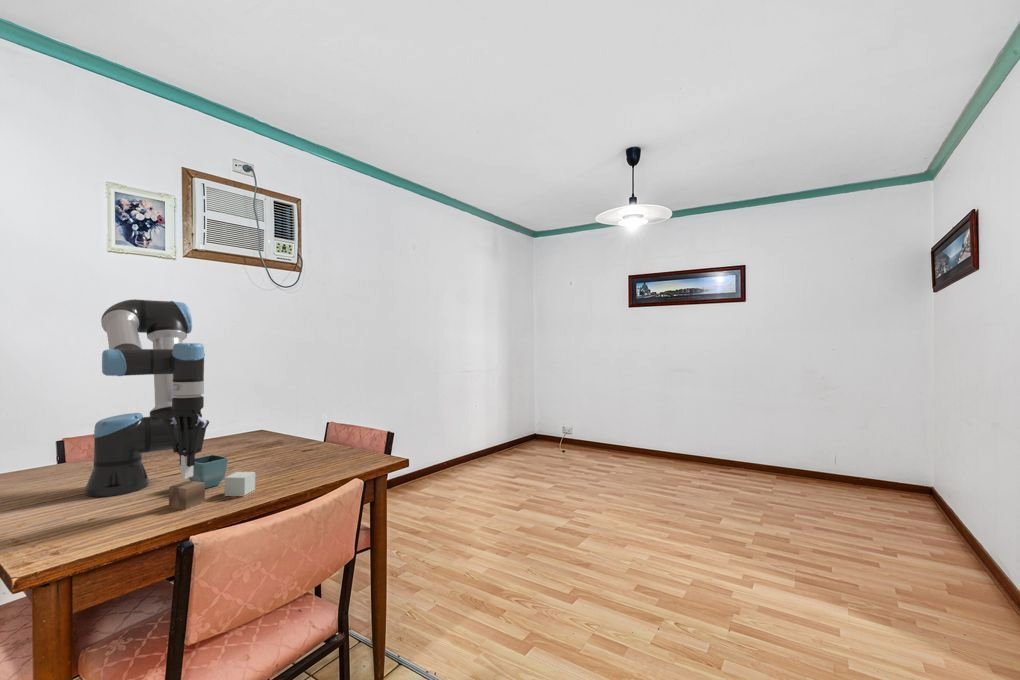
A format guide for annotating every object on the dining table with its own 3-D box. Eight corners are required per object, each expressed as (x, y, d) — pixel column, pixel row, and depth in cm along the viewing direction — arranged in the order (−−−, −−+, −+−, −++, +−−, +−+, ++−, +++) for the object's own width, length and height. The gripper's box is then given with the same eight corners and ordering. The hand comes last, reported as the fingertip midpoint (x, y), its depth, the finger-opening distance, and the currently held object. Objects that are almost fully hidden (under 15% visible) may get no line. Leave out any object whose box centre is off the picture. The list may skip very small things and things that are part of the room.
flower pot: (228, 484, 151) (229, 457, 151) (201, 492, 143) (201, 463, 143) (212, 480, 154) (212, 454, 154) (184, 488, 146) (184, 460, 146)
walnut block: (169, 486, 130) (186, 488, 128) (188, 480, 135) (205, 482, 134) (168, 507, 130) (185, 510, 128) (188, 500, 135) (204, 502, 134)
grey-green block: (224, 497, 139) (224, 477, 139) (236, 490, 145) (236, 471, 145) (244, 497, 139) (244, 477, 139) (255, 490, 145) (255, 471, 145)
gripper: (157, 396, 130) (156, 479, 130) (194, 398, 127) (193, 482, 127) (182, 393, 137) (181, 471, 137) (217, 395, 134) (216, 475, 134)
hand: (187, 477), depth 132 cm, fingers closed
